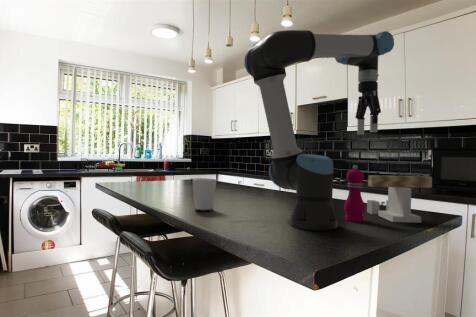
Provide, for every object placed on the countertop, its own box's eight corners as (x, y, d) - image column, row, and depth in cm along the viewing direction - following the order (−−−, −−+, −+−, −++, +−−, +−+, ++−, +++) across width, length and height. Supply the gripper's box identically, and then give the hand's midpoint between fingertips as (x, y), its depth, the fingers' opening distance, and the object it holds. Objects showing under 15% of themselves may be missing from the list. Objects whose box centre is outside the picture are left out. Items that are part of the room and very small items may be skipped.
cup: (188, 209, 134) (189, 178, 133) (211, 207, 138) (211, 178, 137) (196, 213, 125) (196, 180, 124) (219, 211, 129) (220, 180, 128)
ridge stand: (392, 222, 114) (393, 188, 114) (378, 215, 126) (378, 185, 126) (421, 222, 114) (421, 188, 114) (403, 216, 126) (404, 185, 125)
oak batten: (371, 186, 118) (372, 175, 118) (368, 185, 121) (368, 175, 121) (431, 187, 118) (432, 176, 118) (426, 186, 121) (426, 176, 121)
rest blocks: (371, 214, 128) (372, 201, 128) (366, 212, 133) (367, 200, 133) (399, 214, 128) (399, 202, 128) (393, 212, 133) (393, 200, 133)
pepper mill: (361, 218, 119) (362, 164, 119) (367, 222, 112) (368, 165, 112) (341, 217, 120) (342, 164, 119) (346, 222, 113) (347, 165, 112)
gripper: (391, 74, 121) (389, 131, 121) (365, 88, 145) (364, 135, 146) (371, 74, 121) (370, 131, 121) (348, 88, 146) (347, 135, 146)
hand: (366, 133), depth 133 cm, fingers open, 13 cm apart
